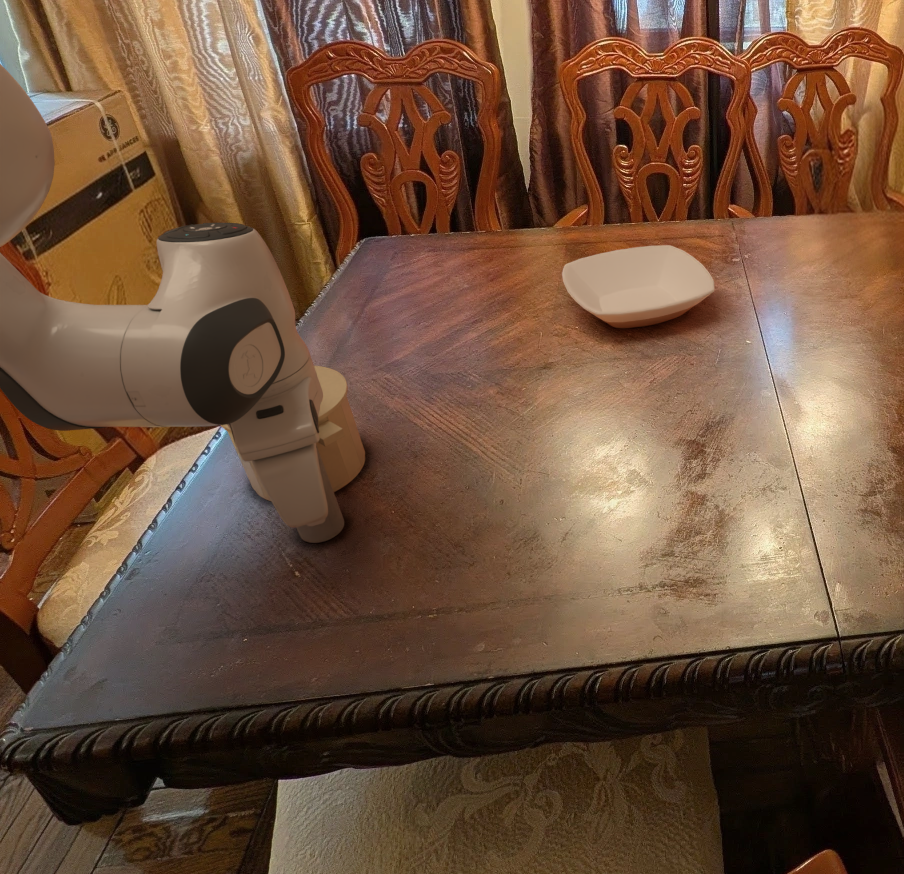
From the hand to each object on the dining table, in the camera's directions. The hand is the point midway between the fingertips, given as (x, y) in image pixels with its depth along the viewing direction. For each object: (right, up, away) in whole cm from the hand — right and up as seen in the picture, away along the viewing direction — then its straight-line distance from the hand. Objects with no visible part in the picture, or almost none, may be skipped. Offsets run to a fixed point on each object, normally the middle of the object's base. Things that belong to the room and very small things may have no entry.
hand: (312, 503), depth 83 cm
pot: (-5, +3, +11) cm, 12 cm away
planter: (0, -3, +2) cm, 4 cm away
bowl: (+32, +27, +41) cm, 58 cm away
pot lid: (-5, +11, +5) cm, 13 cm away
